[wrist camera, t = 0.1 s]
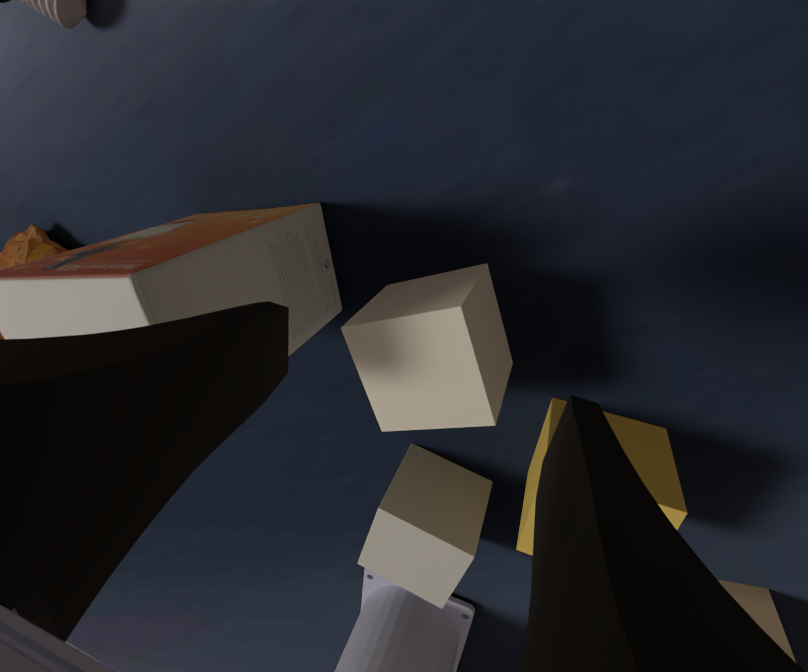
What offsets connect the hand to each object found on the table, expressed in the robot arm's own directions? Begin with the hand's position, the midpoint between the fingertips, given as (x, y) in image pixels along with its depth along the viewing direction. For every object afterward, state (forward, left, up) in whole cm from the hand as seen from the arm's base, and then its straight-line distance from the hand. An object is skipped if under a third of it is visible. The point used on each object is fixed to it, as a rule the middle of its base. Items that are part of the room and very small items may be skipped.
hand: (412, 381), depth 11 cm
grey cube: (-14, 0, -10) cm, 18 cm away
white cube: (-3, +1, -10) cm, 11 cm away
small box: (-2, +11, -10) cm, 15 cm away
